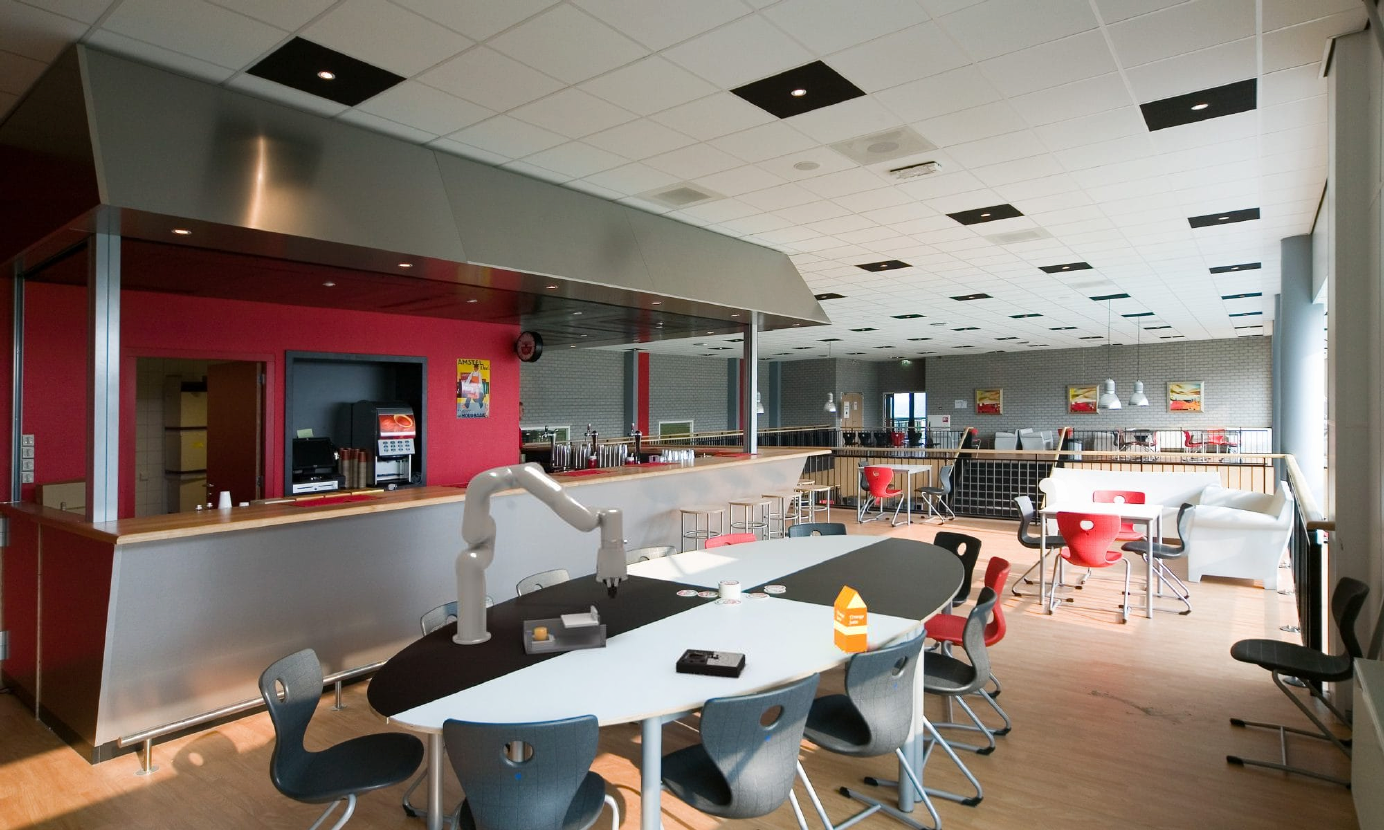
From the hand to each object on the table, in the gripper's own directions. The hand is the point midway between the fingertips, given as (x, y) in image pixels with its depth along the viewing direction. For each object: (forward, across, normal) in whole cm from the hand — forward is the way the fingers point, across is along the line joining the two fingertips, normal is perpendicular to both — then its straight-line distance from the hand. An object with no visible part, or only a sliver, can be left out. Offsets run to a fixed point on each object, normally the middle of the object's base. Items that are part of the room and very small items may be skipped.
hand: (612, 597), depth 257 cm
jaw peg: (+14, +24, 0) cm, 28 cm away
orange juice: (+16, -75, +30) cm, 82 cm away
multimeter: (+16, -24, +35) cm, 46 cm away
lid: (+7, +11, 0) cm, 13 cm away
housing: (+15, +16, 0) cm, 22 cm away
